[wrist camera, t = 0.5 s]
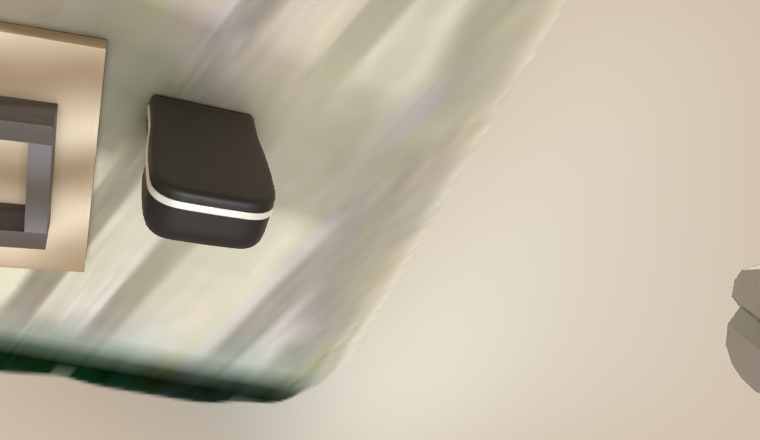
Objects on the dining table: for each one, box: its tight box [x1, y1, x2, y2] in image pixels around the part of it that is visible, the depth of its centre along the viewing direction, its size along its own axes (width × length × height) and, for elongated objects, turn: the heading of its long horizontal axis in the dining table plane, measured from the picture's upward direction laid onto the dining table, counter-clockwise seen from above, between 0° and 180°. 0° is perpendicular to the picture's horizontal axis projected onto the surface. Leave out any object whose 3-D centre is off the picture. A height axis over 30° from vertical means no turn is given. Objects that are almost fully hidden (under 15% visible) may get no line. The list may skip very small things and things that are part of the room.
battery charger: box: [142, 96, 275, 249], centre depth 43 cm, size 7×4×11 cm, turn 69°
